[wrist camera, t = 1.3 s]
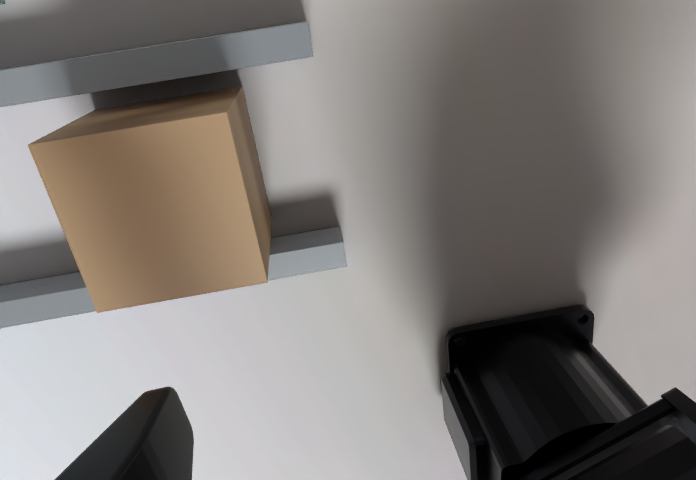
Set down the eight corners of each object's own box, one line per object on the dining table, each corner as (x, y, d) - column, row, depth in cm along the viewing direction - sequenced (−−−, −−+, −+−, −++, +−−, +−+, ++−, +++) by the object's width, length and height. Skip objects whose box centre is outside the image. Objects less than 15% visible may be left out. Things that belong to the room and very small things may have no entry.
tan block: (242, 85, 18) (226, 112, 13) (272, 219, 20) (267, 282, 15) (95, 109, 17) (27, 145, 13) (141, 242, 20) (97, 312, 15)
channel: (306, 21, 17) (307, 22, 16) (343, 249, 20) (347, 266, 19) (-394, 131, 16) (-457, 143, 15) (-229, 350, 20) (-268, 375, 18)
